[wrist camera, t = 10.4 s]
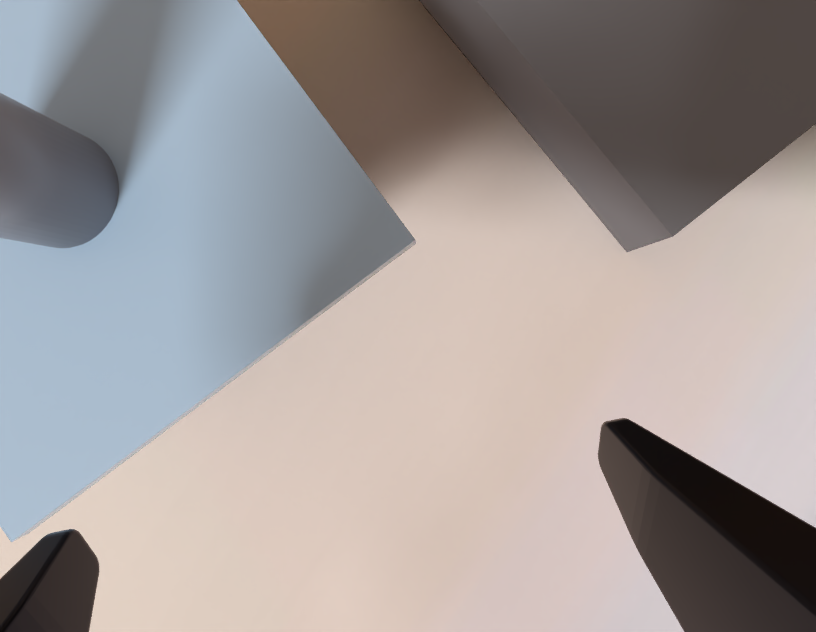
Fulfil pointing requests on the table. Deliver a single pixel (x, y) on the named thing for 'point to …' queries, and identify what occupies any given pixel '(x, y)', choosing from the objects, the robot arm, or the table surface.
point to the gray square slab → (647, 94)
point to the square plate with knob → (154, 228)
